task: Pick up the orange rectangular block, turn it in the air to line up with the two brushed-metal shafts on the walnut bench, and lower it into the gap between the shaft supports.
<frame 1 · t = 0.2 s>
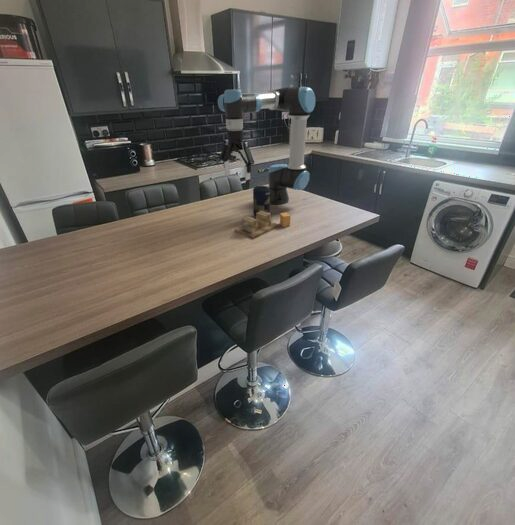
hand: (237, 177, 141), 28 cm above the breakfast bar, fingers open, 13 cm apart
orange rectangular block: (284, 224, 160), on the breakfast bar
canister: (261, 216, 171), on the breakfast bar
shaft bench: (257, 228, 156), on the breakfast bar
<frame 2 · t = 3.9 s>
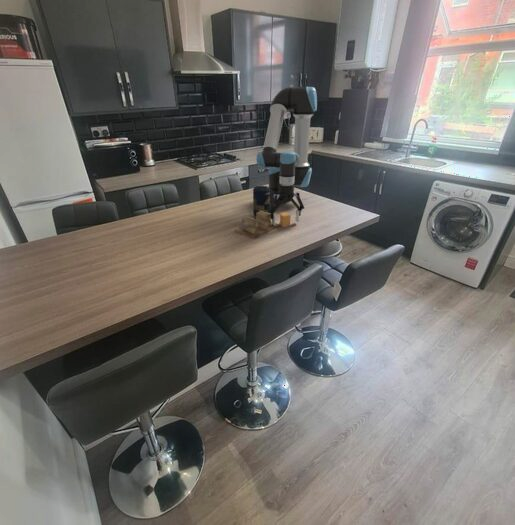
hand: (285, 223, 159), 1 cm above the breakfast bar, fingers open, 13 cm apart
nothing on the breakfast bar moved.
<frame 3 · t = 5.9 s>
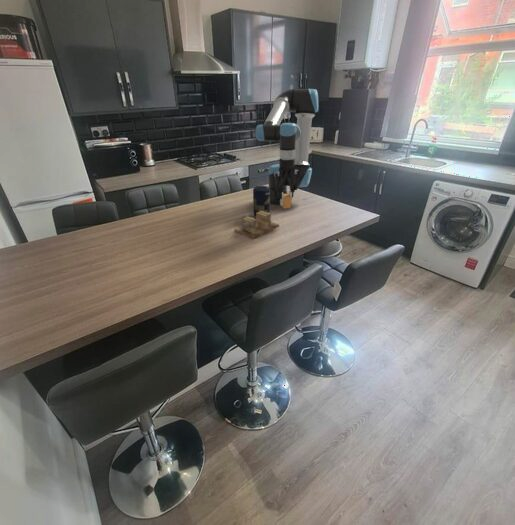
hand: (285, 203, 154), 12 cm above the breakfast bar, fingers closed on orange rectangular block, 4 cm apart
orange rectangular block: (285, 206, 155), point 10 cm above the breakfast bar, touching gripper
everything else where it was.
when the fingers open (2 cm above the breakfast bar, at t = 9.5 s): orange rectangular block stays where it is, resting on shaft bench.
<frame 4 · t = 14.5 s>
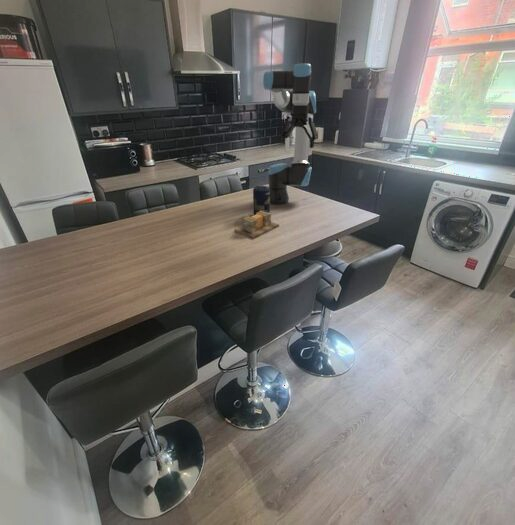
hand: (297, 153, 144), 37 cm above the breakfast bar, fingers open, 13 cm apart
orange rectangular block: (257, 226, 155), point 1 cm above the breakfast bar, touching shaft bench
everything else where it was.
at the end: orange rectangular block 0.1 cm off-centre on the shaft bench, point 1.2 cm above the shaft bench's base; orange rectangular block tilted 0°; the gripper is holding nothing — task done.
